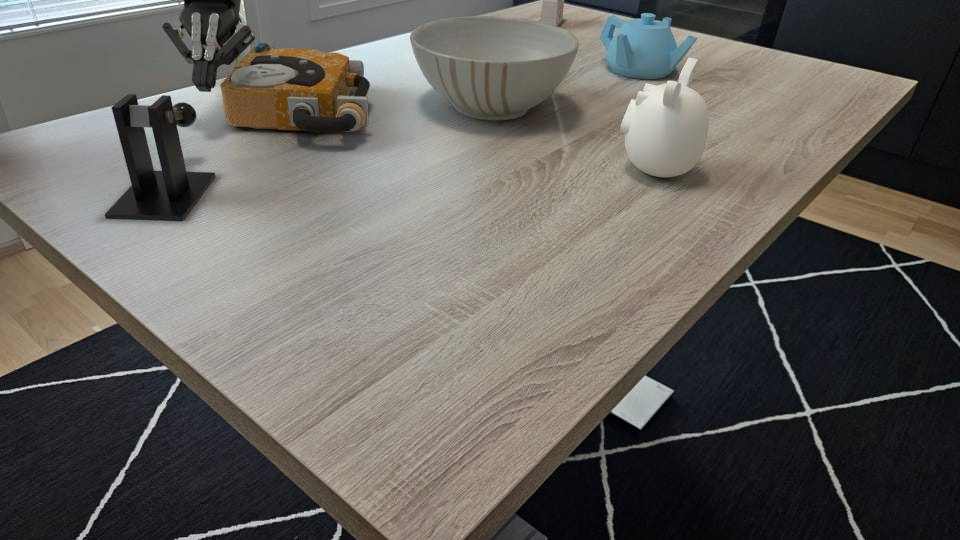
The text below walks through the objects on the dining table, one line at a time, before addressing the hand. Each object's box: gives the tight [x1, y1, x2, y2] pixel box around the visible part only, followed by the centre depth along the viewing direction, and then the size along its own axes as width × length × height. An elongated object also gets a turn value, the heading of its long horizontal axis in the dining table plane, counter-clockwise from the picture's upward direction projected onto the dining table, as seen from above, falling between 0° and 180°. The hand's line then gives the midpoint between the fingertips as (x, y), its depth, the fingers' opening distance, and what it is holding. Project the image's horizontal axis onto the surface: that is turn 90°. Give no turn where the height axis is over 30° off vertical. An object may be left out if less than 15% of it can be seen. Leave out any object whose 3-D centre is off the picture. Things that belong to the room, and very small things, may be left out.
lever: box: [129, 102, 198, 128], centre depth 87 cm, size 14×3×3 cm, turn 0°
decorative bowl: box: [409, 15, 580, 121], centre depth 115 cm, size 27×27×12 cm
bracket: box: [104, 93, 216, 222], centre depth 84 cm, size 12×9×13 cm
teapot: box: [598, 12, 698, 80], centre depth 137 cm, size 15×15×11 cm
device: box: [219, 42, 371, 135], centre depth 110 cm, size 23×8×30 cm
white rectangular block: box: [540, 0, 565, 27], centre depth 165 cm, size 4×7×10 cm, turn 161°
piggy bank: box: [619, 56, 709, 178], centre depth 95 cm, size 12×12×15 cm
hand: (202, 89), depth 98 cm, fingers closed
